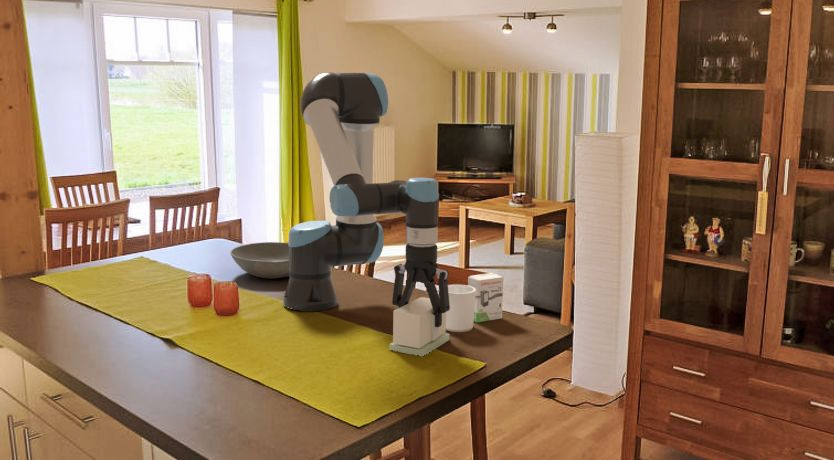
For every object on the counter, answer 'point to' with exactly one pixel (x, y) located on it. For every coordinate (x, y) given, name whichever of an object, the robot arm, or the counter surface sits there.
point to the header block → (422, 350)
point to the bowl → (263, 259)
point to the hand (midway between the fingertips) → (420, 336)
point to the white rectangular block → (415, 323)
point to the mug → (460, 308)
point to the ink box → (487, 296)
